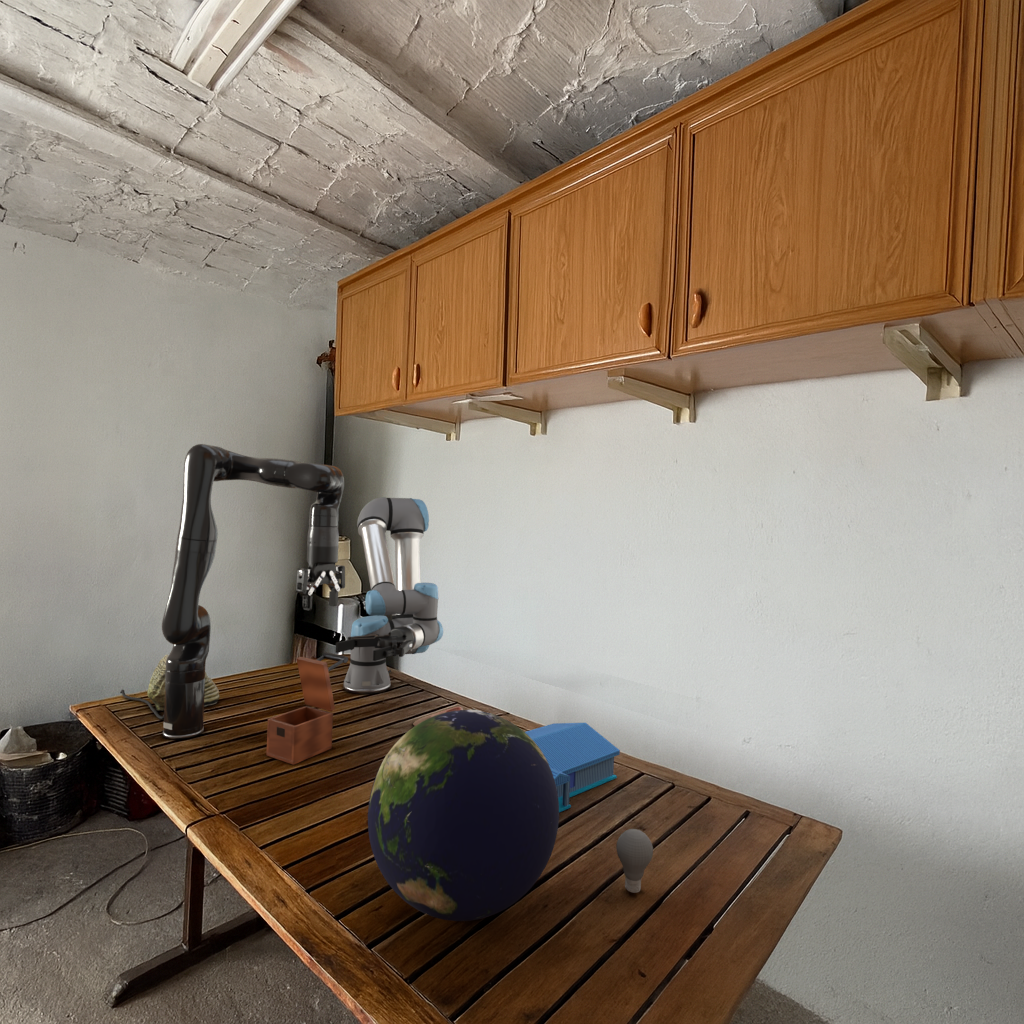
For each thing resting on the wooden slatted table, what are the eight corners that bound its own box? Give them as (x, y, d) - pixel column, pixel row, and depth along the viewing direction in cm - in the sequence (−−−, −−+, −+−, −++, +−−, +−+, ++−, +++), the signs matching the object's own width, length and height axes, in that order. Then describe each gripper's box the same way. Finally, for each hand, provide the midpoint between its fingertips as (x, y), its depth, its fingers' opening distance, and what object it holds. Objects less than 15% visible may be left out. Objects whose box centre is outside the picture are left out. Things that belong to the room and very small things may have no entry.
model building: (501, 837, 120) (504, 785, 120) (427, 790, 139) (429, 744, 138) (628, 782, 147) (630, 739, 147) (552, 748, 165) (553, 710, 165)
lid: (323, 664, 155) (349, 648, 163) (296, 658, 160) (322, 643, 168) (331, 711, 159) (356, 693, 166) (304, 704, 163) (330, 687, 171)
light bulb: (610, 879, 108) (613, 822, 108) (644, 879, 109) (647, 822, 109) (619, 902, 102) (622, 840, 102) (655, 901, 103) (658, 840, 103)
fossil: (144, 707, 182) (145, 655, 182) (212, 696, 194) (213, 647, 194) (151, 716, 175) (153, 662, 175) (221, 703, 188) (223, 653, 188)
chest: (293, 764, 149) (294, 727, 149) (266, 755, 153) (267, 718, 153) (331, 748, 159) (333, 713, 159) (305, 740, 164) (306, 705, 164)
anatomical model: (409, 713, 175) (423, 701, 186) (408, 727, 175) (423, 714, 186) (455, 719, 172) (467, 706, 184) (455, 733, 172) (466, 719, 184)
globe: (322, 932, 92) (330, 728, 92) (425, 835, 120) (432, 678, 119) (512, 1001, 81) (522, 769, 81) (577, 877, 109) (585, 703, 108)
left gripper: (312, 546, 152) (309, 613, 152) (354, 544, 164) (351, 606, 164) (290, 544, 155) (287, 609, 156) (332, 541, 168) (330, 602, 168)
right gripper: (438, 657, 184) (390, 673, 166) (372, 644, 196) (321, 658, 178) (439, 631, 184) (391, 644, 165) (373, 620, 196) (322, 631, 178)
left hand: (320, 607), depth 160 cm, fingers open, 8 cm apart
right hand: (354, 651), depth 172 cm, fingers open, 13 cm apart
